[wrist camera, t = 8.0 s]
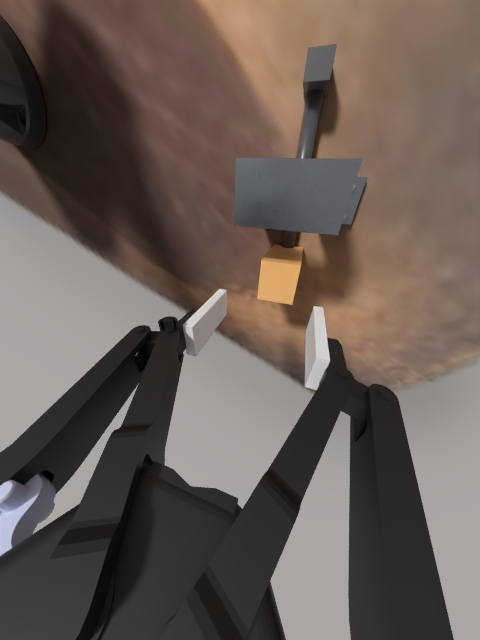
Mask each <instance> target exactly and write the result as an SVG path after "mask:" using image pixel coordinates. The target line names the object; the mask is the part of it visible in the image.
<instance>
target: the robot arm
mask: <svg viewBox="0 0 480 640" xmlns="http://www.w3.org/2000/svg"><path fill="white" fill-rule="evenodd" d="M45 133H46V112H45V106H44V101H43V97H42V93H41V89H40V86H39V83H38V80H37V77H36V75H35V72H34V70H33V68H32V65H31V63H30V61H29V59H28V57H27V55H26V53H25V51H24V49H23V47H22V45H21V44H20V42H19V40H18V39H17V37H16V35H15V34H14V32H13V31H12V30H11V28H10V27H9V25H8V24H7V23H6V21H5V20H4V19H3V18H2V17H1V15H0V139H1V140H3V141H5V142H8V143H10V144H14V145H18V146H23V147H28V148H34V147H37V146H39V145H40V144H41V143H42V141H43V139H44V137H45ZM226 314H227V290H223V289H219V290H218V291H217V292H216V293H215V294H214V295H213V296H212V297H211V298H210V299H209V300H208V301H207V302H206V303H205V304H204V305H203V306H202V307H201V308H200V309H199V310H191V311H189V312H188V313H187V314H186V315H185V316H184V317H183V318H182V319H180V320H179V321H178V320H177V319H176V318H175V317H165V318H162V319H160V320H159V321H158V323H159V327H160V331H151V329H150V327H149V326H145V325H144V326H143V325H142V326H138V327H135V328H134V329H132V330H131V331H130V332H129V333H128V334H127V335H126V336H125V337H124V338H123V339H122V340H121V341H120V342H118V344H116V345H115V346H114V347H113V348H112V349H111V350H110V351H109V352H108V353H107V354H106V355H105V356H104V357H103V358H102V359H101V360H100V361H99V362H97V363H96V365H94V366H93V367H92V368H91V369H90V370H89V371H88V372H87V373H86V374H85V375H84V376H83V377H82V378H81V379H80V380H79V381H78V382H77V383H75V384H74V385H73V386H72V387H71V388H70V389H69V390H68V391H67V392H66V393H65V394H64V395H63V396H62V397H61V398H60V399H59V400H58V401H57V402H56V403H54V404H53V406H51V407H50V408H49V409H48V410H47V411H46V412H45V413H44V414H43V415H42V416H41V417H40V418H39V419H38V420H37V421H36V422H35V423H34V424H32V425H31V426H30V427H29V428H28V429H27V430H26V431H25V432H24V433H23V434H22V435H21V436H20V437H19V438H18V439H17V440H16V441H15V442H14V443H13V444H12V445H10V446H9V447H7V448H6V449H5V450H3V451H2V452H0V640H286V639H285V635H284V631H283V627H282V624H281V620H280V616H279V613H278V609H277V605H276V601H275V597H274V594H273V590H272V586H271V582H270V580H271V577H272V575H273V573H274V570H275V568H276V565H277V563H278V561H279V558H280V556H281V554H282V551H283V549H284V546H285V544H286V542H287V540H288V537H289V535H290V532H291V530H292V528H293V525H294V523H295V520H296V518H297V516H298V513H299V510H300V505H301V502H302V499H303V497H304V495H305V492H306V490H307V488H308V485H309V483H310V480H311V478H312V476H313V474H314V471H315V469H316V466H317V464H318V462H319V460H320V458H321V455H322V453H323V451H324V448H325V446H326V444H327V441H328V439H329V437H330V434H331V432H332V430H333V427H334V425H335V423H336V420H337V418H338V416H339V413H340V411H342V412H344V413H346V414H348V415H349V416H351V422H350V425H351V426H350V512H349V622H350V633H351V640H454V639H453V635H452V631H451V626H450V622H449V617H448V613H447V609H446V605H445V600H444V596H443V592H442V587H441V583H440V578H439V574H438V570H437V566H436V561H435V557H434V553H433V548H432V544H431V540H430V535H429V531H428V527H427V523H426V518H425V514H424V509H423V505H422V501H421V496H420V492H419V488H418V483H417V479H416V475H415V470H414V466H413V462H412V457H411V453H410V449H409V445H408V440H407V436H406V431H405V427H404V423H403V418H402V414H401V410H400V405H399V401H398V398H397V396H396V395H395V394H394V393H393V392H392V391H391V390H390V389H388V388H387V387H385V386H382V385H379V384H372V385H371V386H370V387H368V386H366V385H364V384H362V383H360V382H358V381H356V380H355V379H354V377H353V375H352V373H351V372H350V371H349V370H347V367H346V363H345V358H344V355H343V351H342V350H343V349H342V345H341V344H340V342H339V341H338V340H336V339H331V338H327V334H326V326H325V319H324V311H323V308H322V307H317V306H314V307H313V310H312V313H311V316H310V320H309V323H308V326H307V329H306V353H305V387H307V388H311V389H314V390H317V391H316V392H315V394H314V396H313V397H312V399H311V401H310V402H309V404H308V405H307V407H306V409H305V410H304V412H303V414H302V415H301V417H300V418H299V420H298V422H297V424H296V425H295V427H294V428H293V430H292V432H291V433H290V435H289V436H288V438H287V440H286V442H285V443H284V445H283V447H282V448H281V450H280V451H279V453H278V455H277V456H276V458H275V459H274V461H273V463H272V464H271V466H270V468H269V469H268V471H267V472H266V473H265V474H264V475H263V477H262V478H261V480H260V482H259V483H258V485H257V486H256V488H255V490H254V491H253V493H252V494H251V496H250V498H249V499H248V501H247V503H246V504H245V506H244V508H243V509H242V508H241V507H240V506H239V505H238V504H237V503H238V498H236V497H234V496H231V495H229V494H227V493H225V492H223V491H220V490H218V489H215V488H203V487H192V486H190V485H188V484H187V483H186V482H185V481H184V480H183V479H182V478H181V477H180V476H179V475H178V474H177V473H176V472H175V471H174V470H173V469H171V468H169V467H167V466H165V465H164V461H165V458H164V457H165V446H166V441H167V436H168V431H169V426H170V421H171V416H172V411H173V406H174V401H175V396H176V392H177V386H178V382H179V376H180V372H181V366H182V362H183V357H184V355H183V352H184V350H185V349H186V351H187V354H189V355H193V356H196V355H197V354H198V352H199V351H200V350H201V348H202V347H203V345H204V344H205V343H206V341H207V340H208V339H209V337H210V336H211V335H212V333H213V332H214V331H215V329H216V328H217V327H218V325H219V324H220V322H221V321H222V320H223V318H224V317H225V316H226ZM137 353H138V354H137ZM136 354H137V355H136ZM135 355H136V356H135ZM138 383H139V385H138ZM137 385H138V387H137V390H136V392H135V394H134V397H133V400H132V402H131V404H130V407H129V409H128V412H127V414H126V416H125V419H124V421H123V424H122V426H121V427H120V428H119V429H117V430H114V432H113V433H112V434H111V436H110V437H109V439H108V441H107V444H106V446H105V448H104V450H103V453H102V455H101V457H100V460H99V462H98V464H97V467H96V469H95V471H94V473H93V475H92V478H91V480H90V482H89V485H88V487H87V489H86V492H85V493H84V496H83V499H82V500H81V503H80V504H79V505H77V506H76V507H74V508H72V509H71V510H70V511H68V512H66V513H65V514H63V515H62V516H60V517H59V518H57V519H56V520H54V521H53V522H51V523H50V524H48V525H47V526H45V527H43V528H42V529H40V530H39V531H37V532H36V533H34V534H33V531H34V530H35V528H36V526H37V524H38V523H40V522H42V521H43V520H45V519H46V518H47V517H48V516H49V515H50V514H51V512H52V510H53V509H54V505H55V504H54V498H55V494H56V493H57V492H58V491H59V490H60V489H61V488H62V487H63V486H64V485H65V484H66V483H67V481H68V480H69V479H70V478H71V477H72V476H73V474H74V473H75V472H76V470H77V469H78V468H79V467H80V465H81V464H82V462H83V461H84V460H85V458H86V457H87V456H88V454H89V453H90V451H91V450H92V448H93V447H94V446H95V444H96V443H97V441H98V440H99V439H100V437H101V436H102V434H103V433H104V432H105V430H106V429H107V427H108V426H109V424H110V423H111V422H112V420H113V419H114V417H115V416H116V415H117V413H118V412H119V410H120V409H121V407H122V406H123V405H124V403H125V402H126V400H127V399H128V397H129V396H130V395H131V393H132V392H133V390H134V389H135V388H136V386H137ZM318 386H319V387H318ZM317 388H318V389H317ZM32 534H33V535H32Z"/></svg>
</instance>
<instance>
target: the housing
mask: <svg viewBox="0 0 480 640" xmlns="http://www.w3.org/2000/svg"><path fill="white" fill-rule="evenodd" d="M361 162H362V159H311V158H236V176H235V213H234V226H245V227H255V228H266V229H276V230H287V231H297V232H308V233H318V234H329V235H338V234H339V231H340V228H341V225H342V224H348V225H351V223H352V220H353V217H354V214H355V212H356V209H357V206H358V203H359V200H360V197H361V194H362V191H363V189H364V186H365V183H366V180H367V177H357V175H358V171H359V168H360V165H361Z"/></svg>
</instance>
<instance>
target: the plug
mask: <svg viewBox="0 0 480 640" xmlns="http://www.w3.org/2000/svg"><path fill="white" fill-rule="evenodd" d="M336 45H337V44H333V45H326V46H318V47H311V48H308V54H307V60H306V67H305V74H304V80H303V88H304V98H306V101H305V107H304V114H303V120H302V126H301V132H300V138H299V145H298V151H297V157H296V158H312V153H313V148H314V143H315V138H316V133H317V128H318V123H319V118H320V112H321V107H322V102H323V97H325V96H327V92H328V88H329V83H330V78H331V73H332V68H333V62H334V57H335V51H336ZM296 235H297V231H287V230H285V232H284V238H283V244H282V245H277V244H274V245H273V247H272V248H271V249H270V250H269V252H268V253H267V254H266V255H265V257H264V258H263V259H262V260H261V270H260V279H259V289H258V298H257V299H262V300H268V301H273V302H279V303H284V304H290V305H292V303H293V299H294V295H295V290H296V286H297V282H298V277H299V273H300V268H301V263H302V254H303V247H296V246H294V245H295V240H296Z"/></svg>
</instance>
